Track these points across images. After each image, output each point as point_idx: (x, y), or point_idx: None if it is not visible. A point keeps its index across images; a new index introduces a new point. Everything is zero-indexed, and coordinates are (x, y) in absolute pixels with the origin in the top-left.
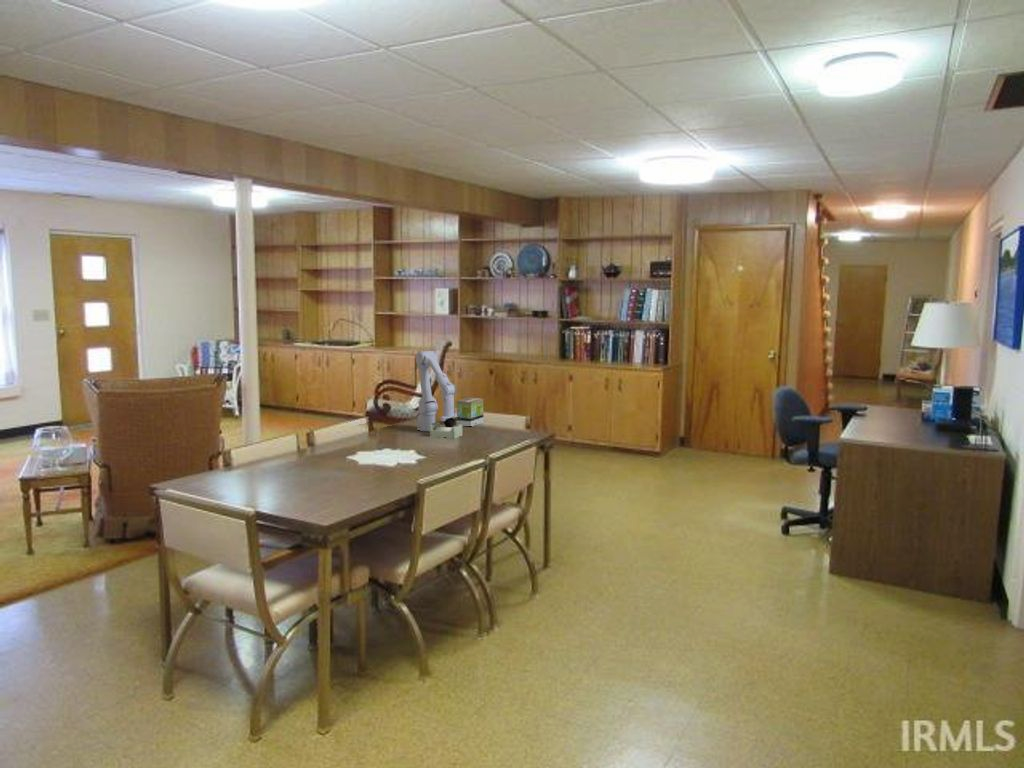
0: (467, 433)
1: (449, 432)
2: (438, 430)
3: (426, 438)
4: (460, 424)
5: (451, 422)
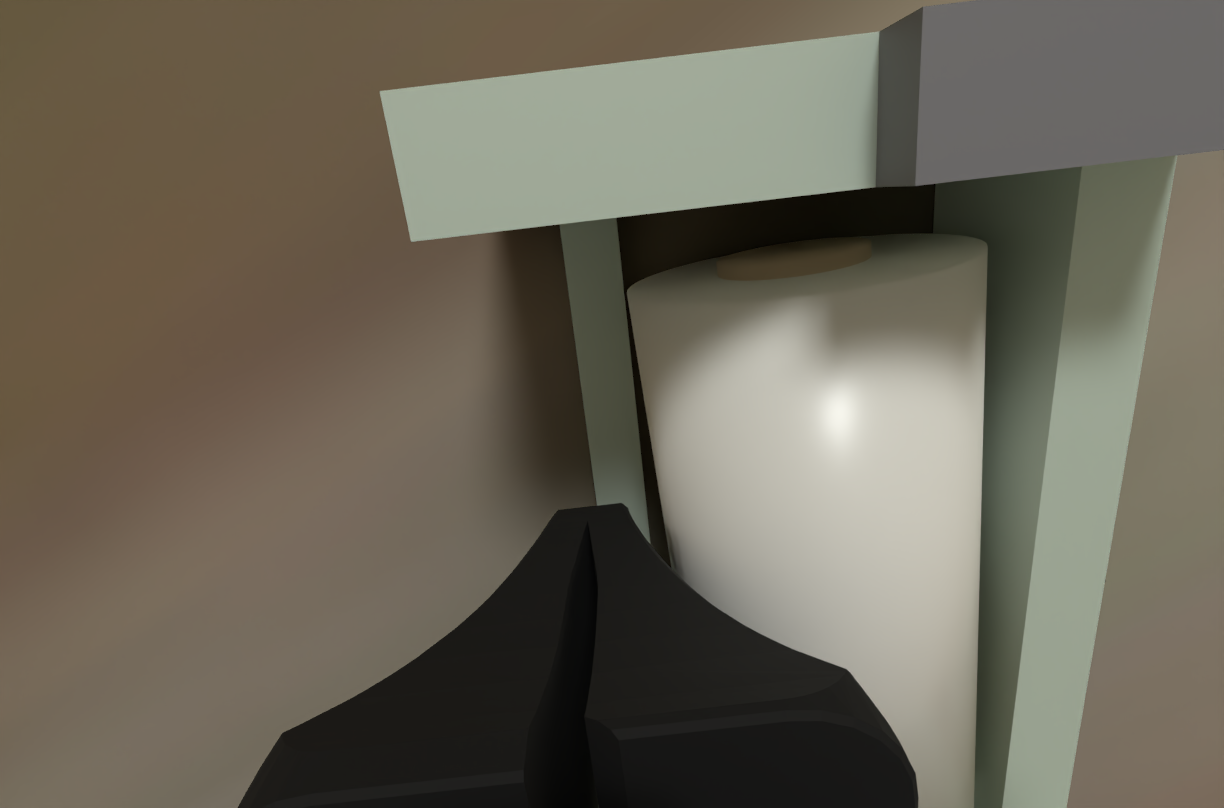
0: (151, 193)
1: (1133, 271)
2: (1016, 707)
3: (1125, 704)
4: (444, 191)
5: (746, 659)
